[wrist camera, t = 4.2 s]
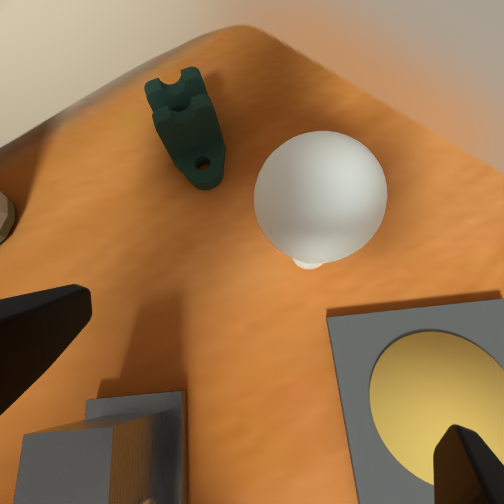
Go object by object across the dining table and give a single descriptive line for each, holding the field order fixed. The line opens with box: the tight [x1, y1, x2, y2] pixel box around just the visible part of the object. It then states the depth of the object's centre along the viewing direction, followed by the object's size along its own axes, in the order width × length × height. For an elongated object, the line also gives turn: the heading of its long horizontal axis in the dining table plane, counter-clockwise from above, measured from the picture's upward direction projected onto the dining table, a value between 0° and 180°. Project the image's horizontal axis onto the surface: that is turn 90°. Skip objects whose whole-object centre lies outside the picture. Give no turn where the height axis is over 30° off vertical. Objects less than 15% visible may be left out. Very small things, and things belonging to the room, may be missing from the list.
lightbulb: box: [253, 131, 388, 269], centre depth 17 cm, size 6×6×11 cm
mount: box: [144, 67, 225, 190], centre depth 25 cm, size 11×4×5 cm, turn 19°
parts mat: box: [326, 299, 504, 504], centre depth 18 cm, size 11×11×1 cm
